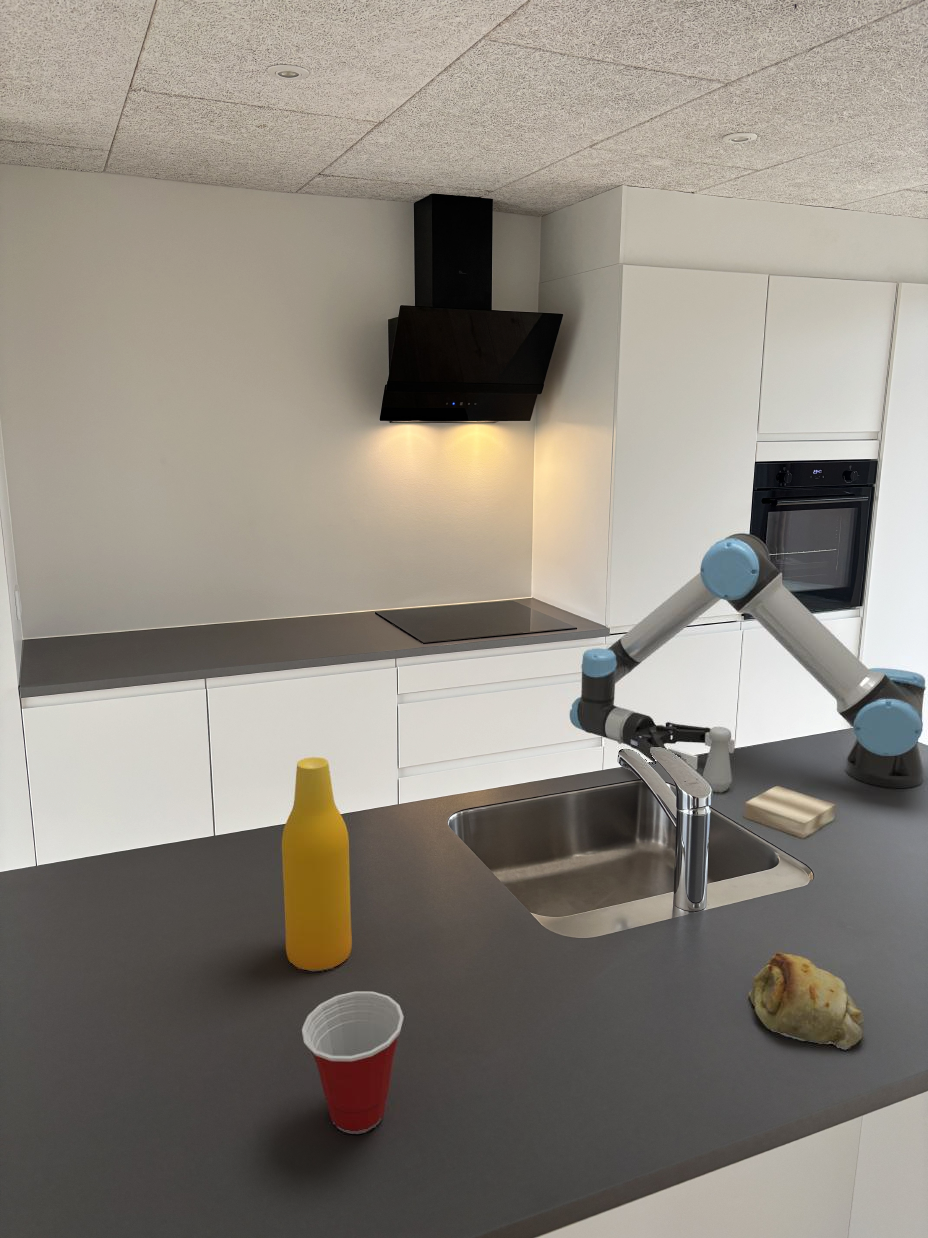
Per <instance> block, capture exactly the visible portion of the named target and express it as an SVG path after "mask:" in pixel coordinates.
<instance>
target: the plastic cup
mask: <svg viewBox="0 0 928 1238" xmlns="http://www.w3.org/2000/svg"><path fill="white" fill-rule="evenodd" d="M400 1005H401V1004H399V1003H397V1002H396V1001H395V1000H394V999H393V998H391V997H390V996H389V995H385V994H384V993H383V994H382V993H380V992H375V991H352V992H348V993H343V994H338V995H335V996H333V997H332V998H330V999H328V1000H326V1001H323V1002H322V1003H320V1004H319V1005H317V1006H316V1008H315V1009H313V1010H312V1011H311V1012H310V1013H309V1014H308V1015H307V1017H306V1019H305V1021H304V1023H303V1026H302V1029H301V1033H302V1038H303V1043H304V1045H305V1046H306V1047H307V1048H308V1050H310V1052H311V1054H312V1056H313V1058H314V1061H315V1063H316V1066H317V1070H318V1074H319V1078H320V1083H321V1086H322V1090H323V1095H324V1097H325V1098H324V1099H325V1101H326V1103H327V1107H328V1111H329V1112H328V1113H329V1116H330V1117H329V1118H330V1120H331V1121H333V1122H334V1123H335V1125H336V1126H338V1127H340V1128H342V1129H344V1130H350V1131H359V1130H363V1129H368V1128H369V1127H371V1126H373V1125H374V1124H376V1123H377V1122H378V1121H379V1119H380V1118H381V1117H382V1116H383V1117H384V1115H385V1112H386V1105H387V1099H388V1095H389V1091H390V1087H391V1086H390V1085H391V1080H392V1075H393V1074H392V1073H393V1072H392V1071H393V1067H394V1062H395V1061H394V1060H395V1052H396V1048H397V1044H398V1037H399V1035H400V1034H401V1029H402V1026H403V1022H404V1013H403V1011H402V1009H401V1006H400ZM383 1114H384V1115H383ZM383 1117H382V1118H383ZM333 1122H332V1123H333Z"/></svg>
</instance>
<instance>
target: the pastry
mask: <svg viewBox="0 0 928 1238" xmlns="http://www.w3.org/2000/svg"><path fill="white" fill-rule="evenodd" d="M748 995H749V998H750V1002H752V1003H751V1005H752V1004H753V1005H754V1006H755V1007H754V1009H753V1010H754V1012H755V1014H756V1015H757V1017H758V1018H759V1020H760V1021H761V1022H762V1024H763V1025H764V1026H765V1028H766V1029H768V1030H769V1029H770V1030H773V1031H777V1032H780V1033H786V1034H788V1035H790V1036H793V1037H794V1036H795V1037H798V1038H801V1039H804V1040H807V1041H812V1042H816V1043H828V1042H829V1041H831V1042H833V1043H835V1044H836V1045H838V1046H840V1047H845V1048H850V1046H855V1045H856V1044H857V1043H858V1042H859V1041H861V1040H862V1037H863V1032H864V1030H863V1029H864V1025H865V1019H864V1016H863V1014H862V1011H861V1010H859V1009H858V1007H857V1005H856V1003H855V1002H854V1000H853V997H851V996H850V994H848V990H847V986H846V984H845V983H844V981H843V980H842V979H841V978H839V977H837V976H836V975H834V974H832V973H830V972H829V971H827V970H824V969H822V968H818V967H817V966H816V965H815V964H814V963H813V962H812V961H811V960H810V959H808V958H806V957H803V956H799V955H794V954H791V953H789V954H786V953H783V952H781V951H779V952H776V953H775V954H773V956H771V958H769V960H768V961H767V962H765V965H764V967H763V968H762V969H760V970H759V972H758V973H757V974H756V975H755V976H754V977H753V980H752V988H751V990H750V991H749V992H748ZM770 1030H769V1031H770ZM850 1049H851V1048H850Z"/></svg>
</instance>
